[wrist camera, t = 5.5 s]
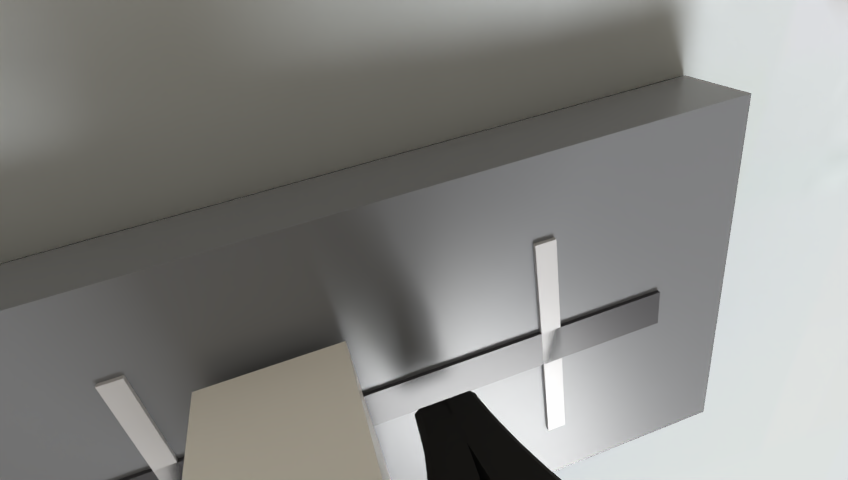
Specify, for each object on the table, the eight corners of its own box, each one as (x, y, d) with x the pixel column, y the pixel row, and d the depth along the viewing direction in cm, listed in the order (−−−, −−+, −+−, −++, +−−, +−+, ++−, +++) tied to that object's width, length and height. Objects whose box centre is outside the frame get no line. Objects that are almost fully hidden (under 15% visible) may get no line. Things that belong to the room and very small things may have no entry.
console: (660, 369, 18) (705, 413, 16) (-302, 735, 13) (-386, 855, 12) (685, 75, 13) (754, 94, 11) (-860, 501, 8) (-1161, 650, 6)
